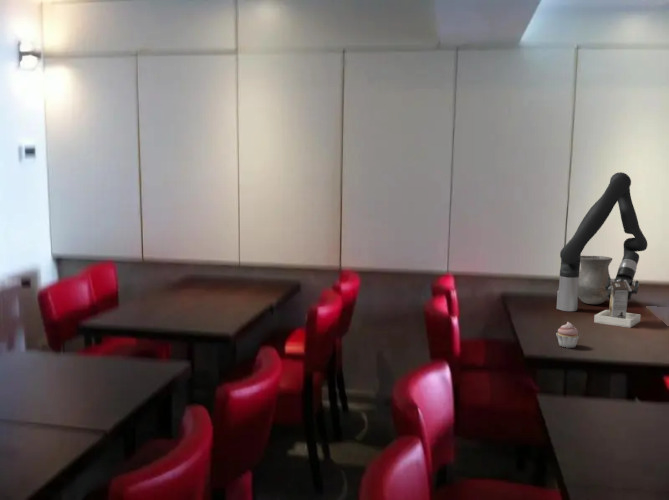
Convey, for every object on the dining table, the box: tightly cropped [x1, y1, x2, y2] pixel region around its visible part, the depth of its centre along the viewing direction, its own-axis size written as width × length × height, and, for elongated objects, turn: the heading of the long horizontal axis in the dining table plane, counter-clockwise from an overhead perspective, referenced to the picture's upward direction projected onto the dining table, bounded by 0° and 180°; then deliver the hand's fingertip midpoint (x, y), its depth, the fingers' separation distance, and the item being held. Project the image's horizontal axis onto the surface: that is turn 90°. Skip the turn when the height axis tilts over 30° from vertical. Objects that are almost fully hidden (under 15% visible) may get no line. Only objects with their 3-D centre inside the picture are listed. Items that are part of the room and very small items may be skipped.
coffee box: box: [608, 281, 629, 319], centre depth 308 cm, size 9×6×16 cm
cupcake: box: [555, 321, 581, 349], centre depth 268 cm, size 9×9×10 cm
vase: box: [578, 255, 613, 305], centre depth 353 cm, size 20×19×25 cm
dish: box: [593, 309, 641, 329], centre depth 311 cm, size 16×16×4 cm
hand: (618, 298), depth 309 cm, fingers closed on coffee box, 8 cm apart
